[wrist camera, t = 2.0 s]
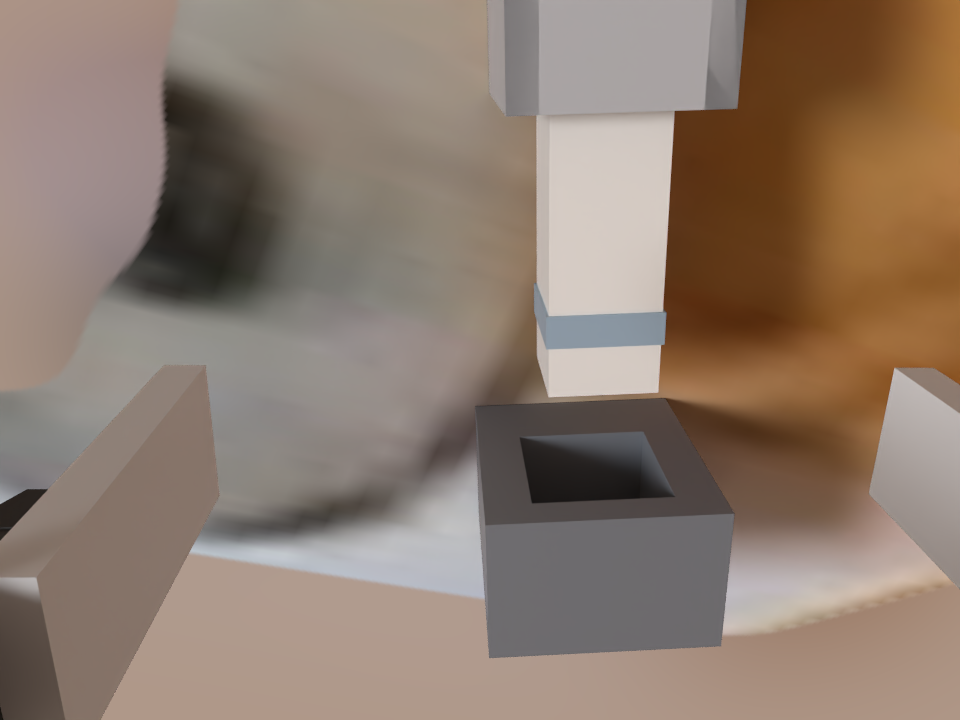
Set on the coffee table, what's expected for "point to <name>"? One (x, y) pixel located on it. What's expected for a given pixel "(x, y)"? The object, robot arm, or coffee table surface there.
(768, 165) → the coffee table surface
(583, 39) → the sleeve
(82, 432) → the coffee table surface
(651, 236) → the tube
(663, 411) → the socket fitting
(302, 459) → the coffee table surface
